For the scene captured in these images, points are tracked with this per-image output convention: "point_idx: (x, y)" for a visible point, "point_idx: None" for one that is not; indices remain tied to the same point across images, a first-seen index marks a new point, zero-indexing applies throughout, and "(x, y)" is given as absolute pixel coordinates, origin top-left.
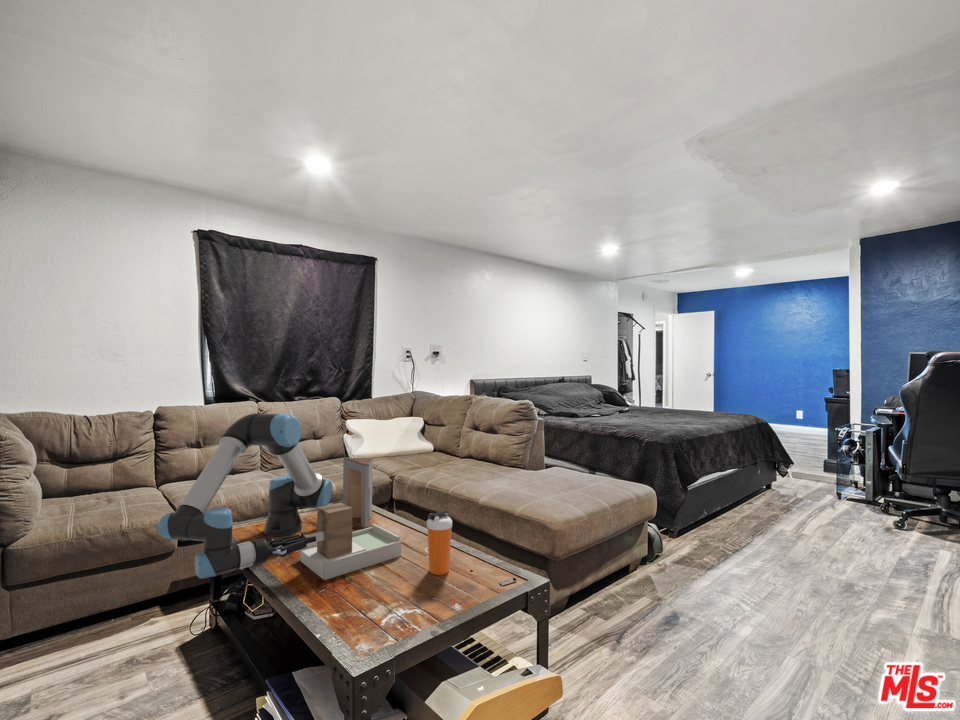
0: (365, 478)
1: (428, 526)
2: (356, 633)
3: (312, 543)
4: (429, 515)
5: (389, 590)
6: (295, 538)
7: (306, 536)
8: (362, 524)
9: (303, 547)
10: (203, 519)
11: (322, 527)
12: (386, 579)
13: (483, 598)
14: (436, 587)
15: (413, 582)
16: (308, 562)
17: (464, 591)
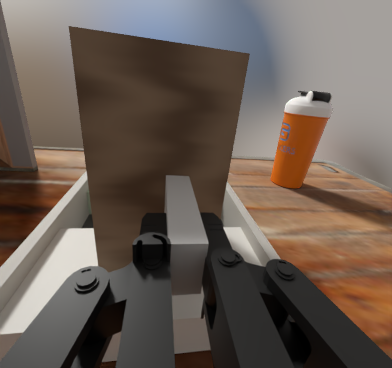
0: (2, 40)
1: (318, 113)
2: None
3: (23, 260)
4: (315, 93)
5: (362, 238)
6: (173, 341)
7: (205, 240)
8: (19, 164)
9: (300, 332)
10: None
11: (158, 157)
12: (306, 225)
13: (376, 188)
14: (344, 199)
15: (324, 208)
16: (114, 345)
17: (357, 189)
